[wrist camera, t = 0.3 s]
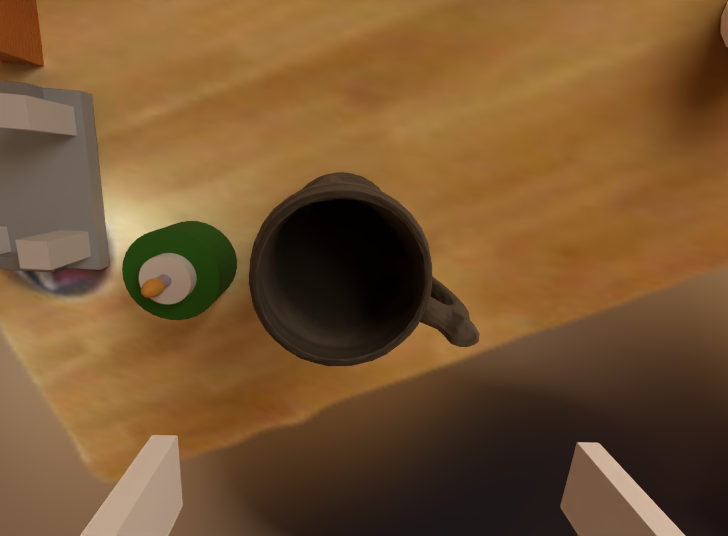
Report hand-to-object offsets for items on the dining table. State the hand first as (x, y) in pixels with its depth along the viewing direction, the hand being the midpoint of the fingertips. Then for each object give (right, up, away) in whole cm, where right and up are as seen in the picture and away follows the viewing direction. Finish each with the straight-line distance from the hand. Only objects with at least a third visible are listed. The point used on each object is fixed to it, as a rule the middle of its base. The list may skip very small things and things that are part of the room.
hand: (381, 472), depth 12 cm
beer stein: (-1, +10, +26) cm, 28 cm away
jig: (-31, +15, +22) cm, 41 cm away
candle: (-18, +8, +26) cm, 32 cm away
